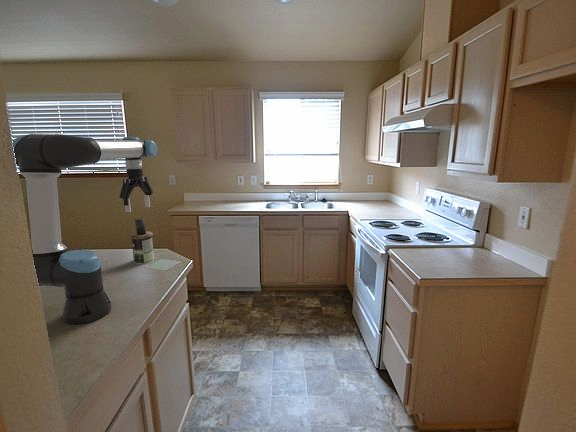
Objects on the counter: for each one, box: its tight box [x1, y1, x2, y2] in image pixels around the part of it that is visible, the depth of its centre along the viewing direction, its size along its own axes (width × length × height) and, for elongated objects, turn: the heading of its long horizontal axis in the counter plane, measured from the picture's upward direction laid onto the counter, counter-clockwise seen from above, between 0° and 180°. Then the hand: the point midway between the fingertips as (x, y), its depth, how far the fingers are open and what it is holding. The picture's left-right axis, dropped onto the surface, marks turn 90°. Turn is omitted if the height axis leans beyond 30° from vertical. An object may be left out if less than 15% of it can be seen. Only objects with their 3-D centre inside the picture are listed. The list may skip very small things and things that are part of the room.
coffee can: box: [130, 236, 155, 265], centre depth 166 cm, size 10×10×14 cm
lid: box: [129, 217, 154, 239], centre depth 164 cm, size 11×11×9 cm
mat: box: [144, 258, 182, 271], centre depth 162 cm, size 13×13×1 cm
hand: (138, 209), depth 162 cm, fingers open, 13 cm apart
